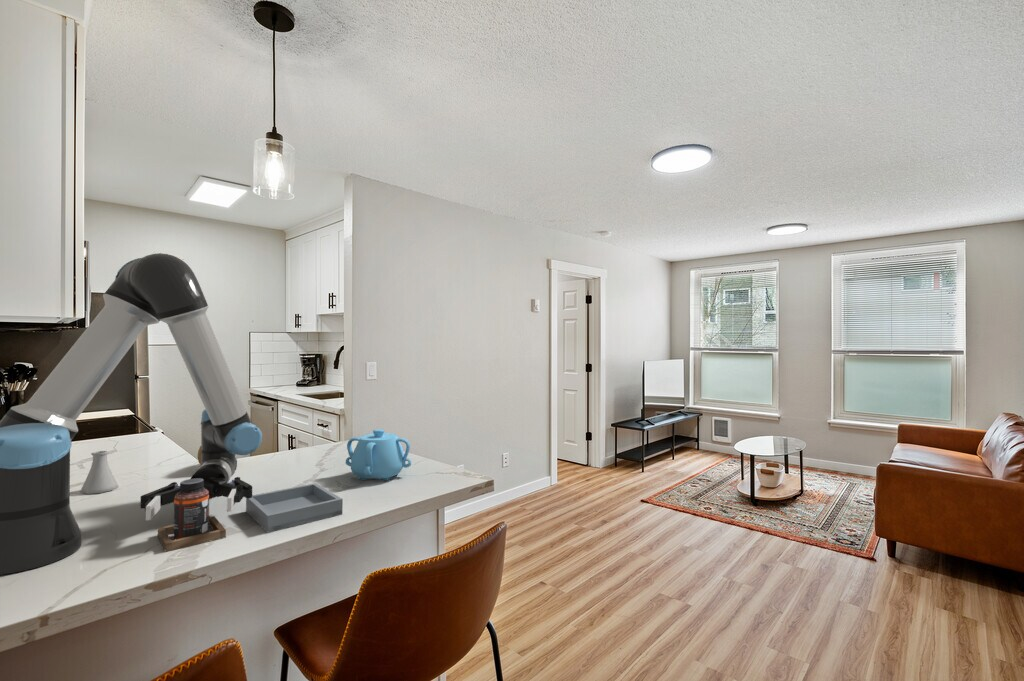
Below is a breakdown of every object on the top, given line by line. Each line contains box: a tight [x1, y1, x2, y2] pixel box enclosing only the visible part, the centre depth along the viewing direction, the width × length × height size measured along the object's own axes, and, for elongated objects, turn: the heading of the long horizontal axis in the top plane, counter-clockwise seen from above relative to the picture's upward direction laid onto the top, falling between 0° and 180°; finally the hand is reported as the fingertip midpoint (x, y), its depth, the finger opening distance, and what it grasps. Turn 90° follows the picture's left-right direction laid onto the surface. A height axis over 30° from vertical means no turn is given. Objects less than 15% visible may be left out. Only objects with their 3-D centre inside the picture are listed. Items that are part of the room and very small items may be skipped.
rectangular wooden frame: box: [157, 515, 227, 553], centre depth 98 cm, size 10×10×2 cm
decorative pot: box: [345, 428, 412, 481], centre depth 142 cm, size 16×16×14 cm
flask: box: [79, 450, 119, 495], centre depth 125 cm, size 7×7×10 cm
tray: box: [245, 482, 344, 533], centre depth 112 cm, size 16×16×4 cm
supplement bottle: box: [173, 478, 210, 540], centre depth 98 cm, size 6×6×11 cm
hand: (189, 509), depth 95 cm, fingers open, 13 cm apart
